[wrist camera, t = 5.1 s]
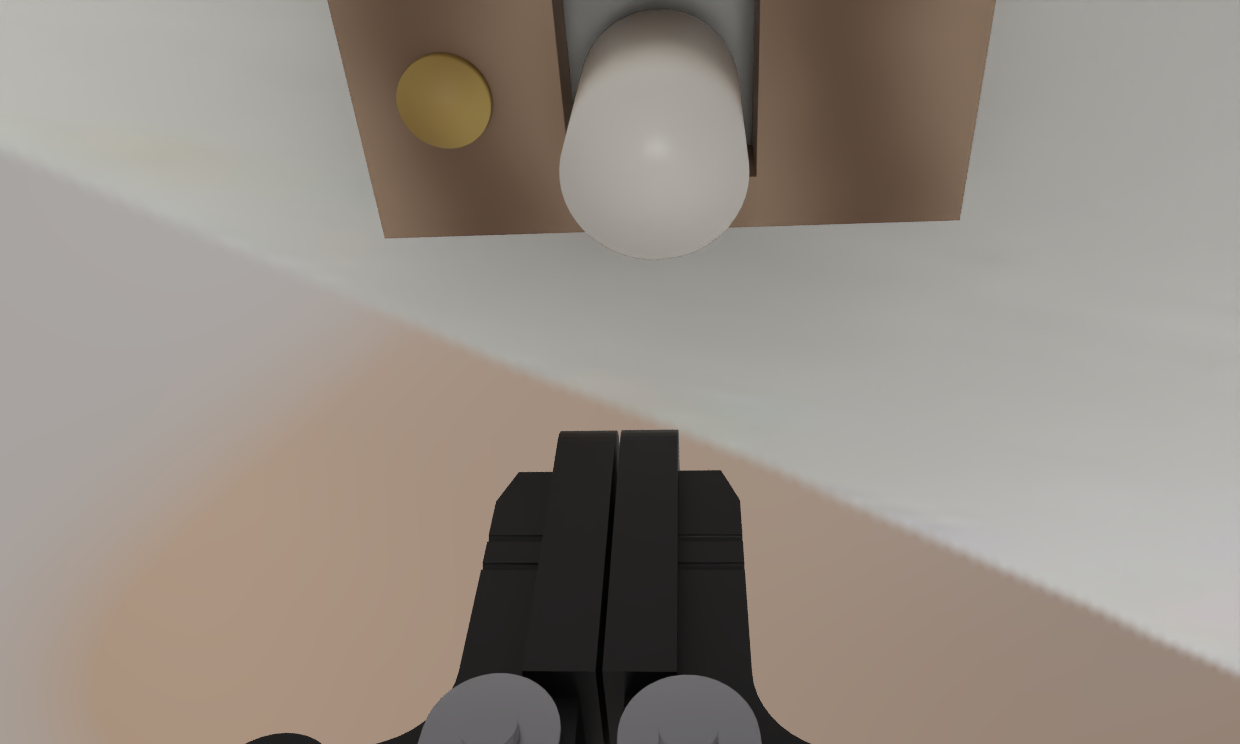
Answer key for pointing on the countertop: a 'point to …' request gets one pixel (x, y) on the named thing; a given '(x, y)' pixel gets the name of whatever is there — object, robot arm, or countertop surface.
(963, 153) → the board
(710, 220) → the button
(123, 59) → the countertop surface
